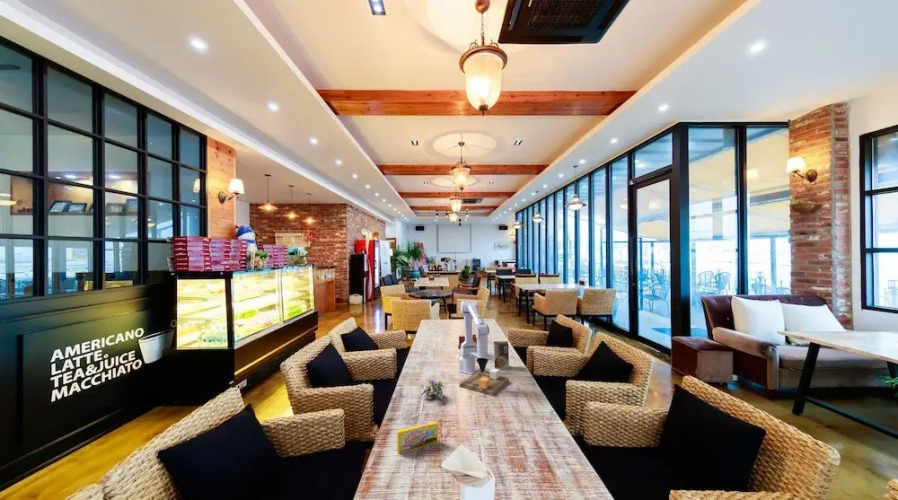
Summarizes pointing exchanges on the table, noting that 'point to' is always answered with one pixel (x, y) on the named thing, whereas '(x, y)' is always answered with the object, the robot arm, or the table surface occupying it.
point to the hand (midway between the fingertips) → (482, 371)
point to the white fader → (494, 373)
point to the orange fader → (484, 382)
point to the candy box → (417, 437)
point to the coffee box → (501, 355)
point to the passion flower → (434, 389)
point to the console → (473, 384)
